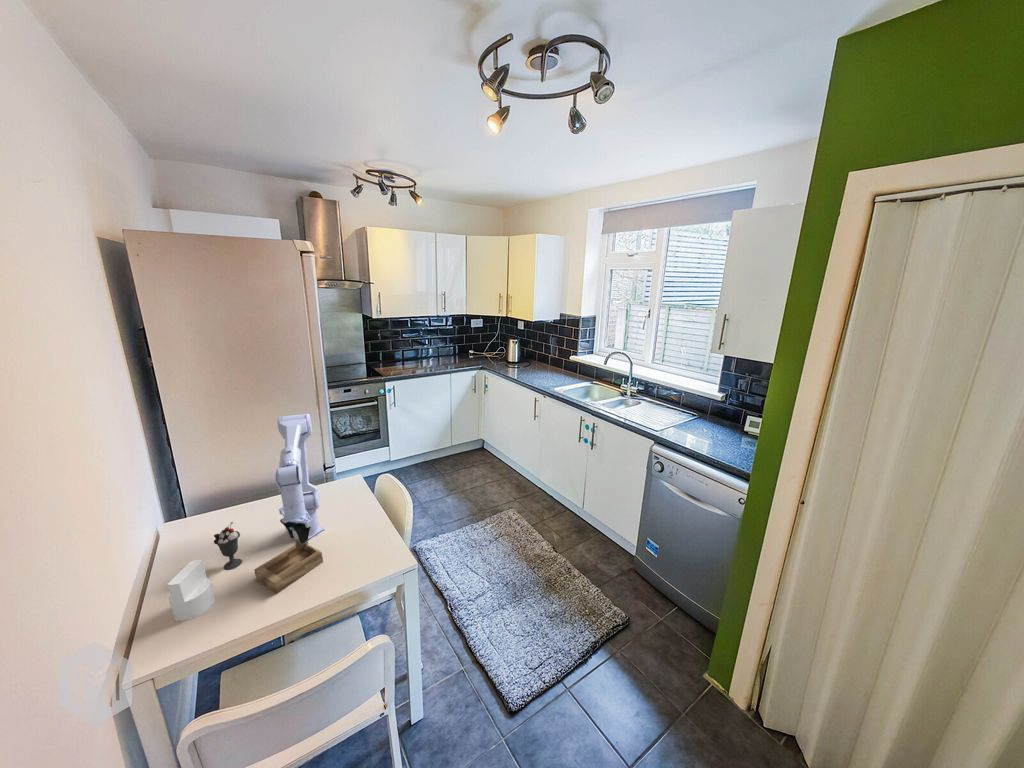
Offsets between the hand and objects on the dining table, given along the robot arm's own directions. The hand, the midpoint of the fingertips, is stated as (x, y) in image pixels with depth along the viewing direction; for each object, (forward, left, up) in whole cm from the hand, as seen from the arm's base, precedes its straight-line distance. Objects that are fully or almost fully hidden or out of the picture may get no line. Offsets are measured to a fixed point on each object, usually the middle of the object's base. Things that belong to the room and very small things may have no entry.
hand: (299, 538), depth 121 cm
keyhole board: (0, -4, -9) cm, 10 cm away
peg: (+1, 0, -2) cm, 2 cm away
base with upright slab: (-10, -26, -9) cm, 29 cm away
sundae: (-19, -12, -9) cm, 24 cm away
